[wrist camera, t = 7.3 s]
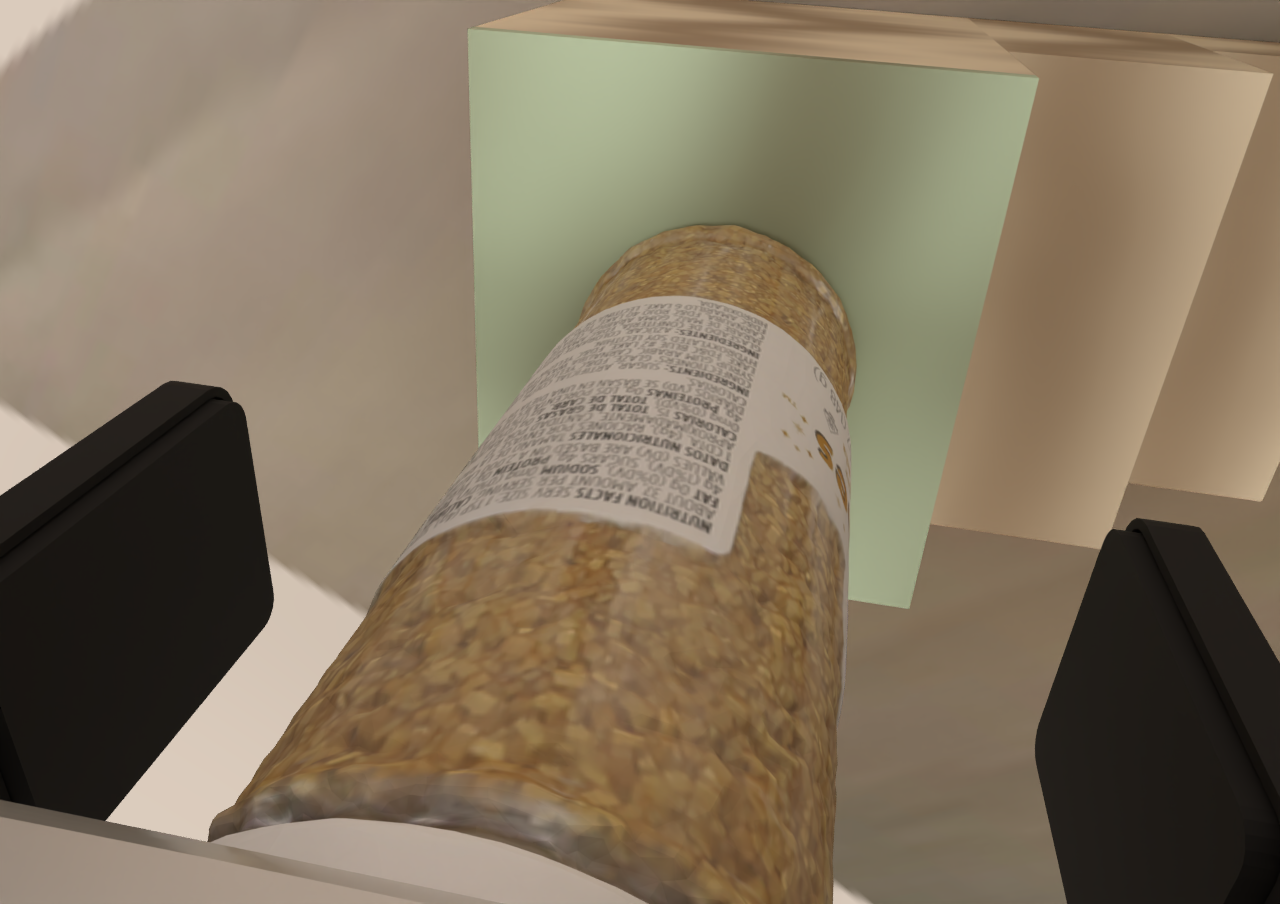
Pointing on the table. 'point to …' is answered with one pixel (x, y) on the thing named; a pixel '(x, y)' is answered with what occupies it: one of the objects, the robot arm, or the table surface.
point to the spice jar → (610, 618)
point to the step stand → (918, 237)
